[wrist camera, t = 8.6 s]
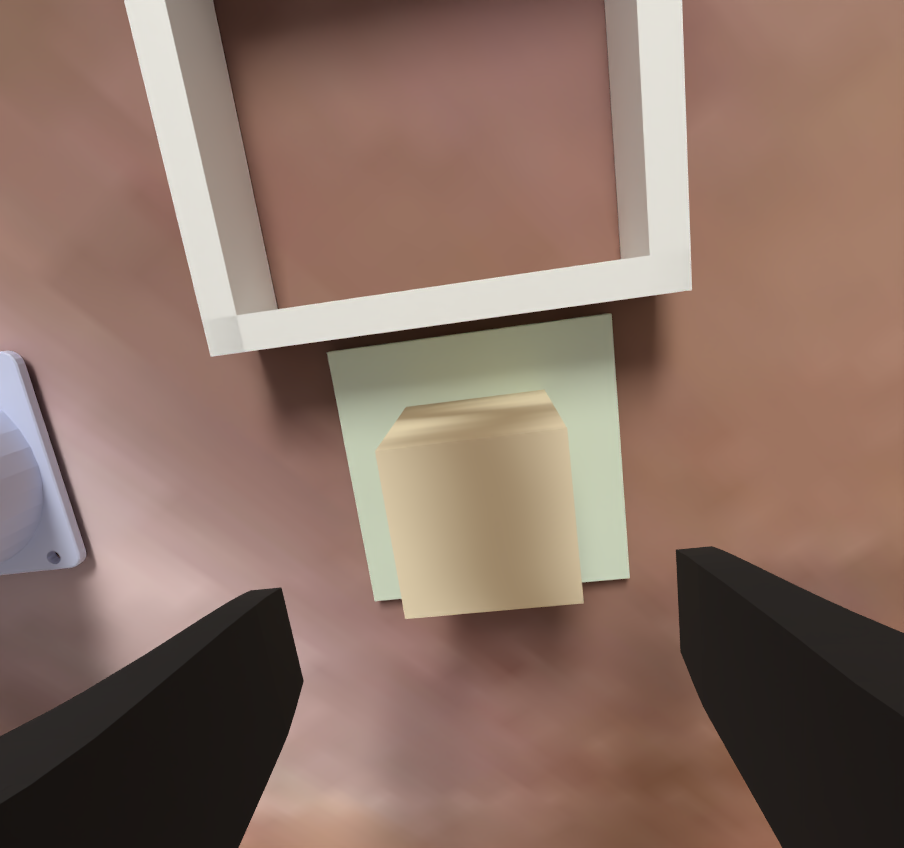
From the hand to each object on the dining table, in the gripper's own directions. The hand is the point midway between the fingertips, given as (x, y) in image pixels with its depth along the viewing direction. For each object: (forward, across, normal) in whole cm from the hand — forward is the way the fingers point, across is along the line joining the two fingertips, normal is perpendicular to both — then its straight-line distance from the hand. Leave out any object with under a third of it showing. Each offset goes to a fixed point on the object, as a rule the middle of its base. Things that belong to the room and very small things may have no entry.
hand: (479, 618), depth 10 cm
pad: (+9, 0, 0) cm, 9 cm away
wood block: (+8, 0, 0) cm, 8 cm away
